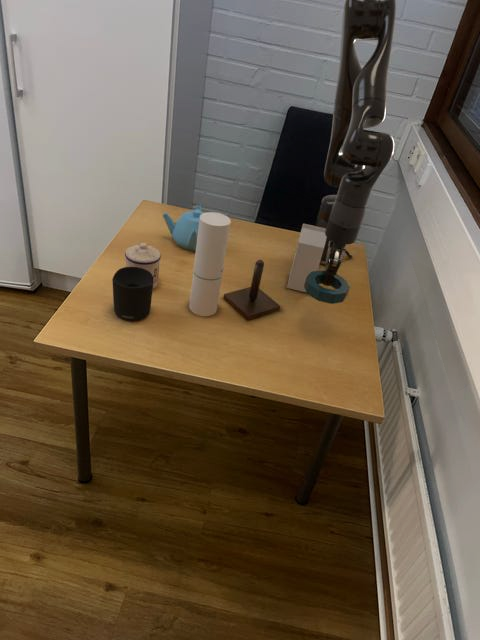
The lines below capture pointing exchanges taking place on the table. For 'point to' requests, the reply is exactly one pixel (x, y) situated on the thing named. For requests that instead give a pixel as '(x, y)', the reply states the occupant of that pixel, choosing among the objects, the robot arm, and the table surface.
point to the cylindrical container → (209, 263)
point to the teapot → (185, 228)
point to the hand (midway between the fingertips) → (326, 281)
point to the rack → (252, 298)
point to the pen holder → (132, 293)
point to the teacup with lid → (144, 259)
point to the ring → (324, 293)
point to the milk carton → (306, 255)
